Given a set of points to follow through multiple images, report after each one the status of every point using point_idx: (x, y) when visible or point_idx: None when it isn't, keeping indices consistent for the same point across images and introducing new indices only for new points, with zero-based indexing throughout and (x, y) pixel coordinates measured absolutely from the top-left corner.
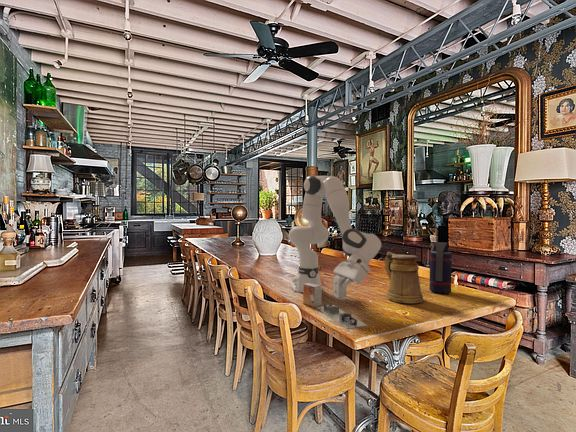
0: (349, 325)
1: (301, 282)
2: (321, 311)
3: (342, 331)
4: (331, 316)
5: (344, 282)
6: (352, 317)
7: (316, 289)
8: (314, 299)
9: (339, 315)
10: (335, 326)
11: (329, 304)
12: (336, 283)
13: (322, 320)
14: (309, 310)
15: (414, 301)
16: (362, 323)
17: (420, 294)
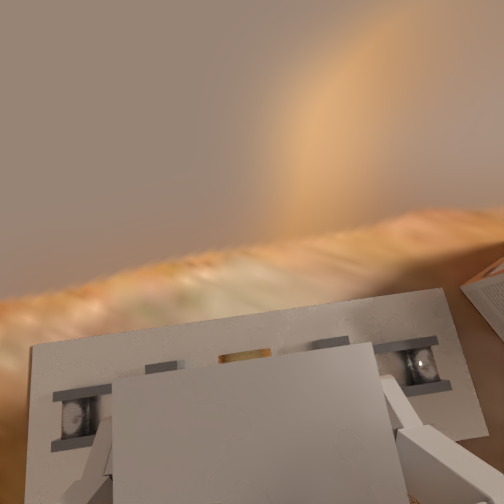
0: (62, 380)
1: None
2: (356, 300)
3: (14, 307)
4: (243, 327)
5: (73, 494)
6: None
7: None
8: (493, 274)
9: (178, 360)
10: (95, 296)
11: (435, 381)
12: (220, 360)
13: (205, 257)
14: (391, 237)
15: None
16: (62, 491)
17: None
